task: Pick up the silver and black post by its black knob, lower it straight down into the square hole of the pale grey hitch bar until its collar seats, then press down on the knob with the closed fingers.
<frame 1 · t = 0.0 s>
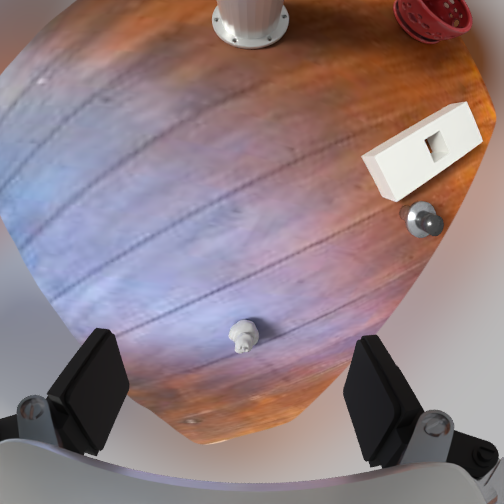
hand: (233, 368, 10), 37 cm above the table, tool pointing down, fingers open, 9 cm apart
hitch bar: (420, 146, 41), on the table
grey rounded lumpy piece: (243, 328, 53), on the table
plant pot: (413, 21, 33), on the table
silver and black post: (405, 212, 45), on the table
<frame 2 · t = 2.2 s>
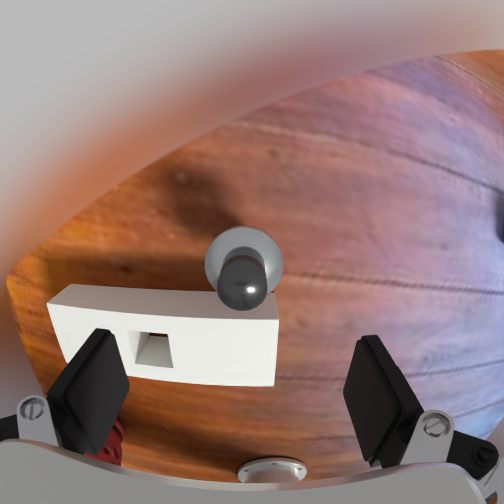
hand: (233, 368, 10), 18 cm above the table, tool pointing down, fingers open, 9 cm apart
hitch bar: (164, 321, 30), on the table
plant pot: (99, 418, 37), on the table
silver and black post: (245, 244, 27), on the table
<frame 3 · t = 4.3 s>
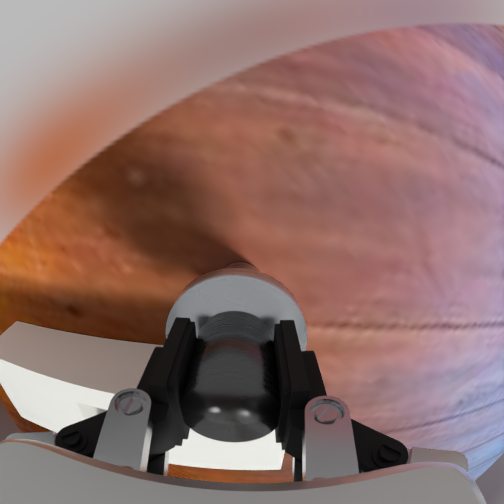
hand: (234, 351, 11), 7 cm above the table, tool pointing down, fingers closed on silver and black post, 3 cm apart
hitch bar: (131, 378, 20), on the table
silver and black post: (240, 283, 17), on the table, touching gripper
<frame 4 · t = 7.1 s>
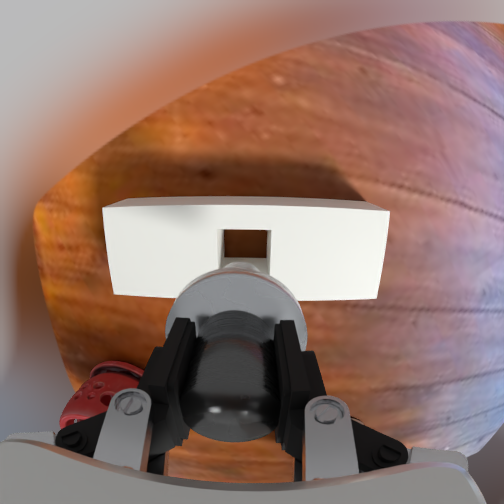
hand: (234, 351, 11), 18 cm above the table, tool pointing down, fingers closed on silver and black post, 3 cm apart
hitch bar: (245, 237, 28), on the table
plant pot: (133, 385, 35), on the table
silver and black post: (240, 283, 17), point 11 cm above the table, touching gripper
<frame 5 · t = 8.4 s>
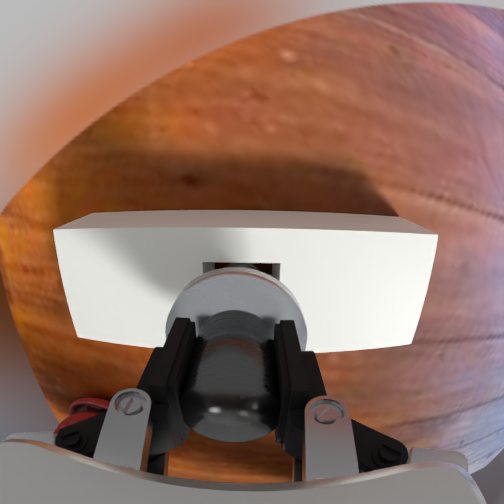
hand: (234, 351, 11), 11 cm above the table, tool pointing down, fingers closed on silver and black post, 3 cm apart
hitch bar: (243, 264, 21), on the table
plant pot: (118, 421, 28), on the table
silver and black post: (240, 283, 17), point 4 cm above the table, touching gripper
when the fingers open (8 cm above the table, at t = 9.8 s): silver and black post stays where it is, resting on hitch bar.
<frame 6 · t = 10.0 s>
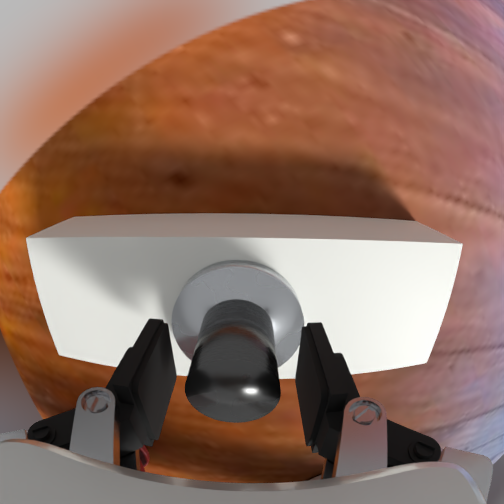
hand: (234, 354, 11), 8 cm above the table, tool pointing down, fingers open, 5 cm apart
hitch bar: (241, 274, 18), on the table
silver and black post: (241, 277, 18), resting on hitch bar
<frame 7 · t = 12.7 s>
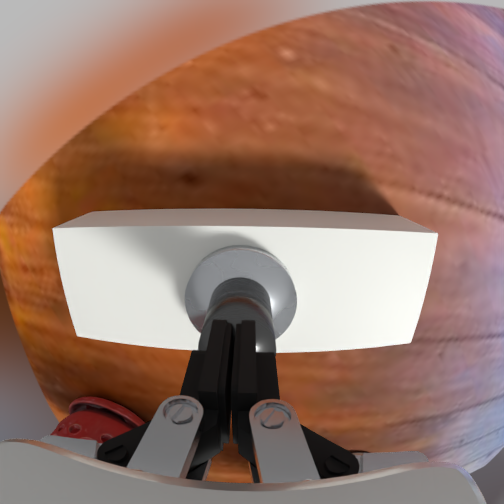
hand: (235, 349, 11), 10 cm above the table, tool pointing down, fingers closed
hitch bar: (243, 262, 21), on the table
plant pot: (117, 421, 28), on the table
silver and black post: (243, 264, 21), resting on hitch bar, touching gripper
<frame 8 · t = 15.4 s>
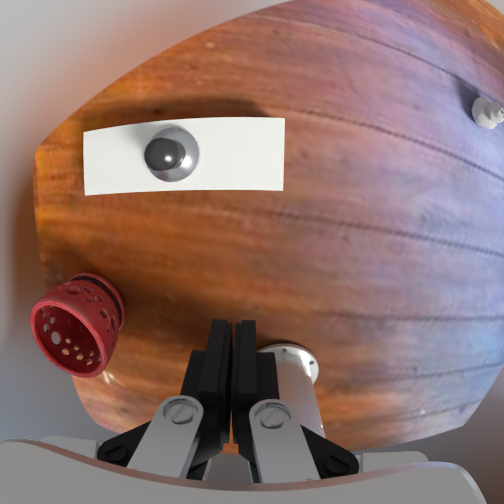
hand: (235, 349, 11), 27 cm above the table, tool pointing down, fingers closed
hitch bar: (184, 155, 34), on the table
grey rounded lumpy piece: (477, 113, 31), on the table
plant pot: (99, 302, 41), on the table
silver and black post: (184, 155, 34), resting on hitch bar
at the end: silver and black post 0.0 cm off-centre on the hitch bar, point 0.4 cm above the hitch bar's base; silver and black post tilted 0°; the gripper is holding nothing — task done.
